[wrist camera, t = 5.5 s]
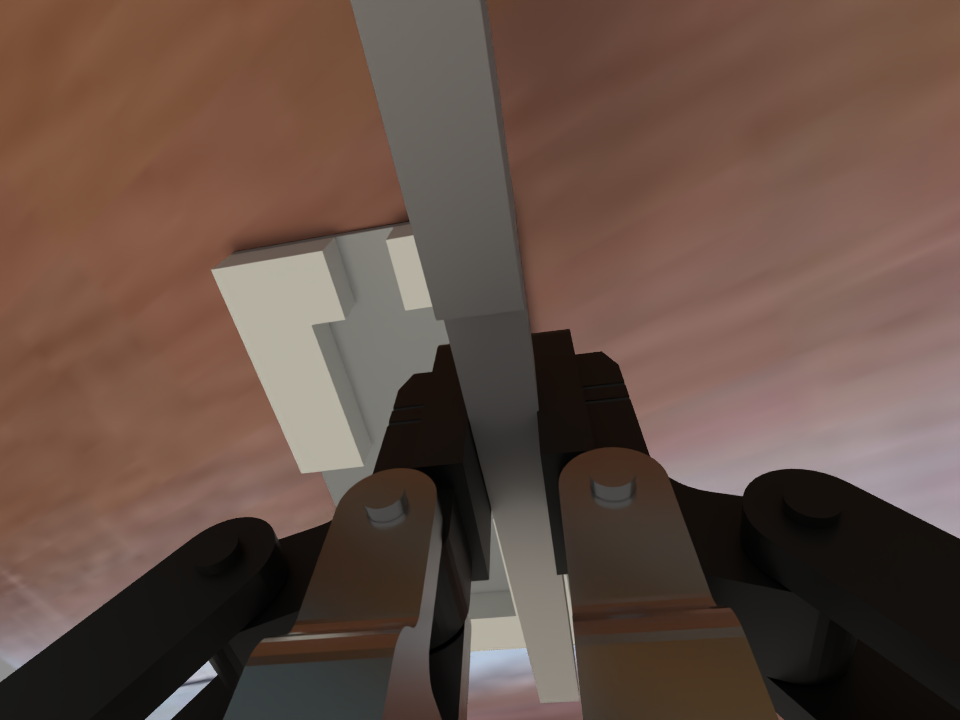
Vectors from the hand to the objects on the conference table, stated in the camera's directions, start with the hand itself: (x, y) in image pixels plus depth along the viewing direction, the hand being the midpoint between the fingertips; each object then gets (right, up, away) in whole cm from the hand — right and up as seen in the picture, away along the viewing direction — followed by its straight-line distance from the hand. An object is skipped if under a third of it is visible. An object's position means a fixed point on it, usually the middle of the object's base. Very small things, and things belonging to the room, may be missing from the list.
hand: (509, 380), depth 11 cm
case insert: (-3, -6, +24) cm, 25 cm away
